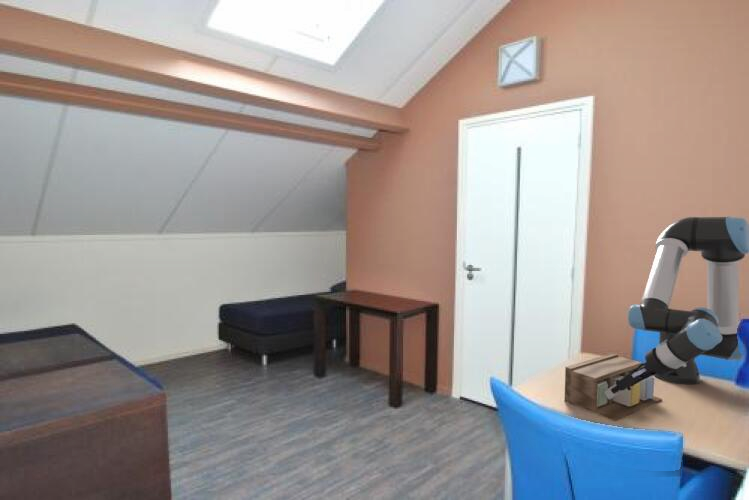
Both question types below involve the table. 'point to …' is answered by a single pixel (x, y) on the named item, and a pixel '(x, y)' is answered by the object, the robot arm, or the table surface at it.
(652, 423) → the table surface
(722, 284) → the robot arm
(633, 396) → the mustard key
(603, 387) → the sage key
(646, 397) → the white and blue block
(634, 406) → the brown boxy piece
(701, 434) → the table surface
